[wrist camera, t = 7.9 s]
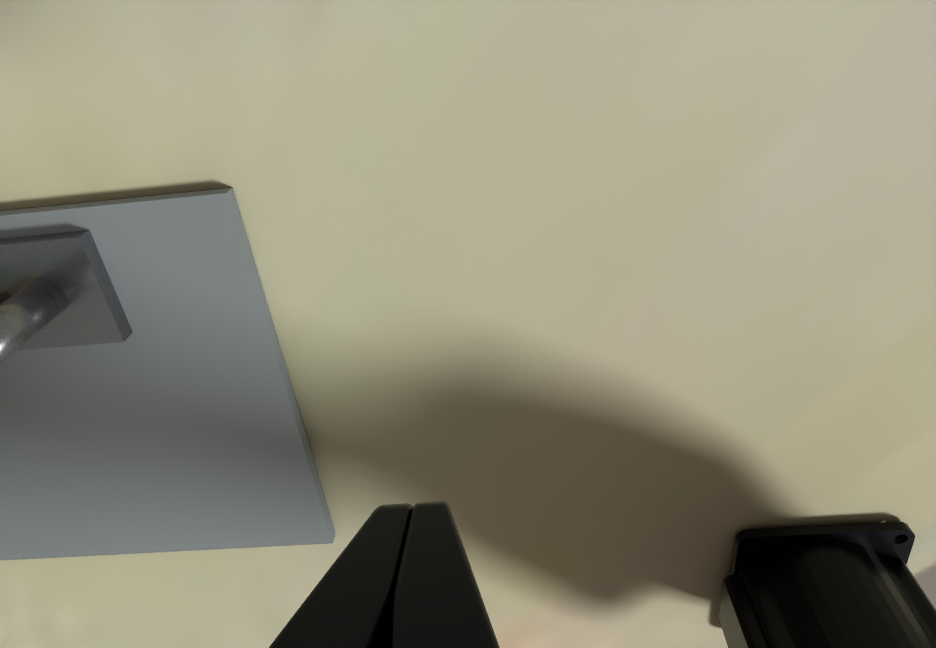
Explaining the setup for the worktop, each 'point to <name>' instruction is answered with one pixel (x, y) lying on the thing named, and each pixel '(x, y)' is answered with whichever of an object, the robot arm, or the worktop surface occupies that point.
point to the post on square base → (56, 294)
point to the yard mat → (158, 399)
